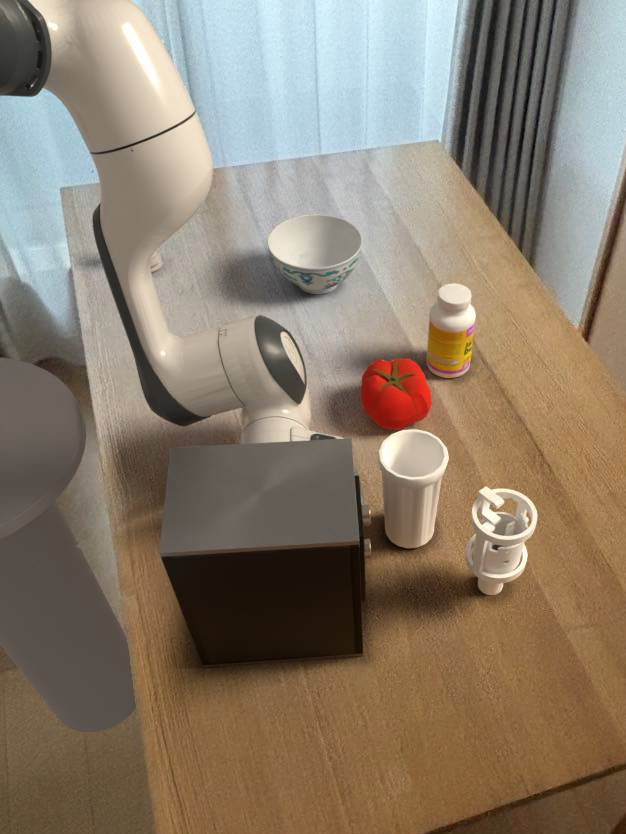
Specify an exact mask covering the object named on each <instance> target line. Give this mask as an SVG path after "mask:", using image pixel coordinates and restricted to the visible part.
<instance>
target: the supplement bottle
mask: <svg viewBox="0 0 626 834" xmlns="http://www.w3.org/2000/svg"><path fill="white" fill-rule="evenodd" d="M436 298H437V299H436V300H437V301H435V302H434V304H433V305H432V306H431V307H430V310H429V317H428V333H427V347H426V366H427V368H428V370H429V371H430V372H431V373H432V374H434V375H436V376H438V377H441V378H446V379H455V378H458V377H461V376H463V375H464V374H466V373H467V372H468V370H469V368H470V366H471V361H472V353H473V344H474V336H475V335H474V334H475V326H476V318H477V317H476V316H477V315H476V310H475V308H474V306H473V305H472V304H471V303H472V292H471V290H470V288H469V287H467V286H465V285H463V284H460V283H452V282H451V283H447V284H444V285H441V287H439V289H438V291H437V297H436Z"/></svg>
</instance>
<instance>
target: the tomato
mask: <svg viewBox="0 0 626 834" xmlns="http://www.w3.org/2000/svg"><path fill="white" fill-rule="evenodd" d="M360 381H361V385H360V390H359V392H360V393H359V394H360V401H361V405H362V408H363V412H364V413H365V414H366V415H367V416H368V418H370V419H371V420H372V421H373V423H375V424H376V425H377V426H378V427H379V428H382V429H387V430H404V429H405V428H407V427H408V426H410V425H412V424H414V423H417V422H420V421H423V420H424V419H425V418H426V417H427V416H428V414H429V412H430V410H431V408H432V405H433V403H432V393H431V389H430V387H429V384H428V383H427V379H426V375H425V373H424V371H423V370H422V369H421V367H420V366H419V365H418V363H417V362H415V361H414V360H412V359H410V358H394V359H392V360H390V361H387V360H384V359H381V358H380V359H376V360H374V361H373V362H371V363H370V364H369V365H368V366H367V367H366V369H365V370H364V372H363V373H362V375H361V380H360Z"/></svg>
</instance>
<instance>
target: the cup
mask: <svg viewBox="0 0 626 834" xmlns="http://www.w3.org/2000/svg"><path fill="white" fill-rule="evenodd" d="M377 458H378V465H379V470H380V471H381V481H382V482H381V483H382V497H383V513H384V514H383V515H384V531H385V536H386V537H387V538H388V540H389V541H390V542H391V543H392V544H394V545H396V546H397V547H401V548H405V549H416V548H420V547H422V546H424V545H427V543H429V541H430V540H431V539H432V538H433V535H434V533H435V524H436V517H437V511H438V505H439V497H440V493H441V485H442V480H443V479H442V478H443V476H444V474H445V472H446V469H447V465H448V462H449V459H450V457H449V452H448V448H447V447H446V445H445V444H444V443H443V441H442V439H440V438H439V436H437V435H434V434H433V433H431V432H429V431H426V430H421V429H417V428H415V429H411V428H410V429H401V430H400V431H397V432H394V433H391V434H390V435H389V436H388V437H387V438H385V439H384V440H383V441H382V442H381V444H380V446H379V448H378V451H377Z"/></svg>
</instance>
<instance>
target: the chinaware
mask: <svg viewBox="0 0 626 834" xmlns="http://www.w3.org/2000/svg"><path fill="white" fill-rule="evenodd" d="M266 243H267V248H268V252H269V254H270V257H271V259H272V261H273V263H274V265H275V267H276V268H277V270H278V271H279V272H280V274H282V276H283V277H284V278H286V279H287V281H289V282H290V283H292V284H293V285H296V286H298V287H299V288H300V289H301V290H302V291H304V292H306V293H308V294H312V295H323V294H327V293H329V292H332V291H334V290H335V289H336V288H337V287H338V285H340V284H341V283H343V281H345V280H346V279H347V278H348V277H350V275H351V274H352V273H353V271H354V269H355V268H356V266H357V264H358V261H359V259H360V257H361V253H362V249H363V237H362V234H361V232H360V230H359V229H358V228H357V227H356V226H355V225H354V224H353V223H351V222H350V221H348V220H346V219H344V218H341V217H339V216H335V215H330V214H323V213H322V214H318V213H312V214H303V215H298V216H294V217H291V218H288V219H286V220H284V221H282V222H280V223H279V224H278V225H276V226H275V227H274V228H273V229H272V230H271V231H270V233H269V235H268V237H267V242H266Z"/></svg>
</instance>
